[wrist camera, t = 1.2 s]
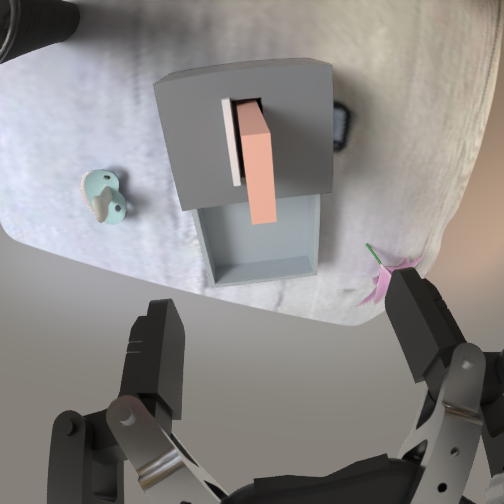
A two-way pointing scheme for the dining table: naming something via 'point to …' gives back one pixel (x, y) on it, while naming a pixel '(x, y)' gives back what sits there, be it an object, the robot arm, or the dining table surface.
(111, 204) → the pacifier
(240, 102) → the tall pink plank
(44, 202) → the dining table surface
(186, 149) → the dispenser
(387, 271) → the lily
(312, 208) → the bin
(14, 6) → the drinking cup
